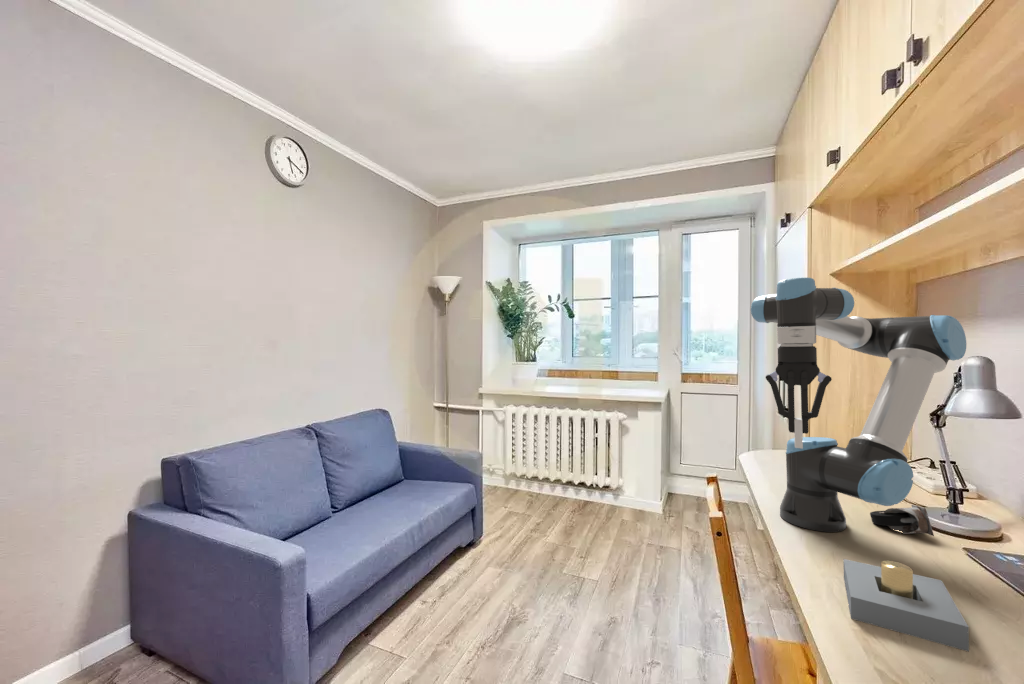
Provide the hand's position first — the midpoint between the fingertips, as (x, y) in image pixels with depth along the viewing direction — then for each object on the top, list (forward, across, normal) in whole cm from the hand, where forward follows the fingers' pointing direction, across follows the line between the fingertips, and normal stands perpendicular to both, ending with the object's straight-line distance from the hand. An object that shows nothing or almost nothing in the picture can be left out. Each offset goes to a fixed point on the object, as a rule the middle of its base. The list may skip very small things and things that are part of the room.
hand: (798, 446), depth 99 cm
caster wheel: (+27, +23, +31) cm, 47 cm away
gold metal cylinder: (+26, +14, -13) cm, 33 cm away
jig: (+26, +14, -13) cm, 33 cm away
